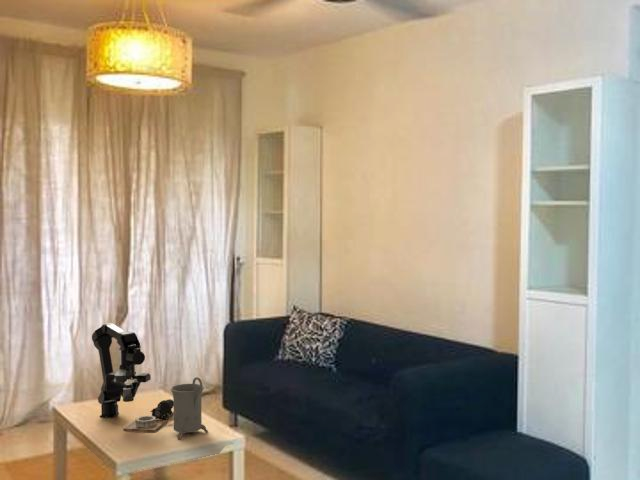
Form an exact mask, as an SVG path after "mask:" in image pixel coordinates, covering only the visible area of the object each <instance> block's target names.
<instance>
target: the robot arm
mask: <svg viewBox="0 0 640 480" xmlns="http://www.w3.org/2000/svg"><path fill="white" fill-rule="evenodd" d="M113 339H115V340H116V343H117V344H118V345H119V348H118V350H119V351H120V364H119V369H118V370H117V371H116V372H114V369H113V368H114V367H113V363H112V362H113V361H112V356H111V355H112V354H111V350H110V348H111V345H112V344H113ZM91 341H92V342H93V346H94V348H96V349H97V351H98V355H99V361H100V367H101V374H102V379H103V383H102V385H101V388H100V391H101V392H100V393H99V396H98V397H97V403H98V404H99V405H101V415H99V417H100V418H114V417H116V416H118V415H119V414H120V412H119V404H118V402H121V399H122V398H123V384H126V383H127V380H133V382H131V383H132V385H133V397H134V398H135V397H136V394H137V392H138V390H139V387H140V385H141V383H147V382H149V381H150V380H152V379H151V378H152V377H151V376H152V375H151V374H150V372H149V373H145V372H141V373H139V374H138V375H137V372H136V369H135V368H136V367H135V366H136V365H137V366H139V365H142V364H143V363H144V362H145V359H146V355H145V354H144V352H143V351H141V350H142V349H141V343H140V340H139V338H138V336H137V334H136V332H134V331H130V330H129V331H128V330H126V331H125V330H124V329H122V328H120V326H118V325H116V324H114V323H113V322H110V323H109V322H107V323H104V324H102V325H101V326H100V327H99V328H97V329H96V330H94V332H93V333H92V334H91Z"/></svg>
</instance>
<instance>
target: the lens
mask: <svg viewBox="0 0 640 480" xmlns="http://www.w3.org/2000/svg"><path fill="white" fill-rule="evenodd" d="M132 383H133V382H130V383H129V382H128V383H127V382H126V383H125V384H123V397H122V402H125V403H127V402H128V403H130V402H133V401H134V400H135V397H133V385H132Z"/></svg>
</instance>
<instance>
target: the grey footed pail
mask: <svg viewBox="0 0 640 480" xmlns="http://www.w3.org/2000/svg"><path fill="white" fill-rule="evenodd" d="M196 381H198V383H199V384H197V383H196ZM204 389H205V386H204V385H203V382H202V379H201V378H200V377H198V376H195V377H194V378H193V379H192V383H182V384H177V385H174V386H171V388H170V391H171V393H172V400H173V401H174V406H173V431H175V432H177V433H178V438H177V439H178V440H179V441H180V440H181V438H182V436H183V434H184V433H187V434H188V433H194V432H198V431H199V430H203V431H204V432H205V433H208V431H209V430H208V429H207V427H206V425H205V424H203V423H202V396H203V391H204Z"/></svg>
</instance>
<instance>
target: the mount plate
mask: <svg viewBox="0 0 640 480" xmlns="http://www.w3.org/2000/svg"><path fill="white" fill-rule="evenodd" d="M167 423H168V419H166V420H161V419H156V417H154V416H152V415H141V416H138V417H136V418H135V420H133V421H132V422H131V423H129V424H128V425H126V426H125V427H123V432H140V433H142V432H143V433H157V431H158V430H159V429H161V428H162V427H164V426H165V425H166V424H167Z"/></svg>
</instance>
